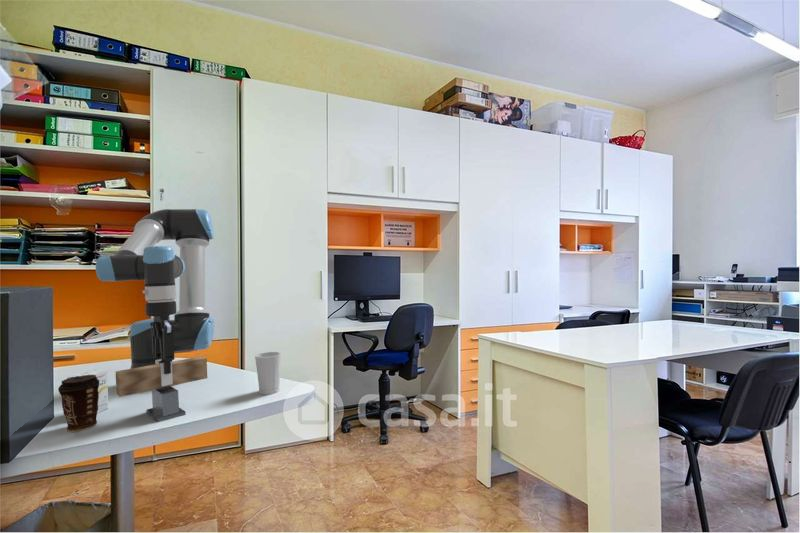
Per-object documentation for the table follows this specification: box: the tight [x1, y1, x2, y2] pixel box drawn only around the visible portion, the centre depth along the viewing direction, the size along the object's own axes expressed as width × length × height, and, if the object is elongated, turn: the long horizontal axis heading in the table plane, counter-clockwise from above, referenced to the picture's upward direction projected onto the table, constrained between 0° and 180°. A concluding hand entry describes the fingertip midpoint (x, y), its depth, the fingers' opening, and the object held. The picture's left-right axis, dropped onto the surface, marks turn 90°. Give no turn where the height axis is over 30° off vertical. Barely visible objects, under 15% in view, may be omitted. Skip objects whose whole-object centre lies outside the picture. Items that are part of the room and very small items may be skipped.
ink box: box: [66, 369, 109, 414], centre depth 118 cm, size 9×5×12 cm, turn 168°
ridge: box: [145, 386, 187, 423], centre depth 116 cm, size 11×7×7 cm, turn 45°
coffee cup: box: [58, 375, 99, 433], centre depth 108 cm, size 9×8×13 cm
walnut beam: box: [115, 356, 208, 398], centre depth 116 cm, size 22×4×6 cm, turn 135°
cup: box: [254, 351, 282, 395], centre depth 133 cm, size 8×8×12 cm
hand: (164, 383), depth 116 cm, fingers closed on walnut beam, 4 cm apart
